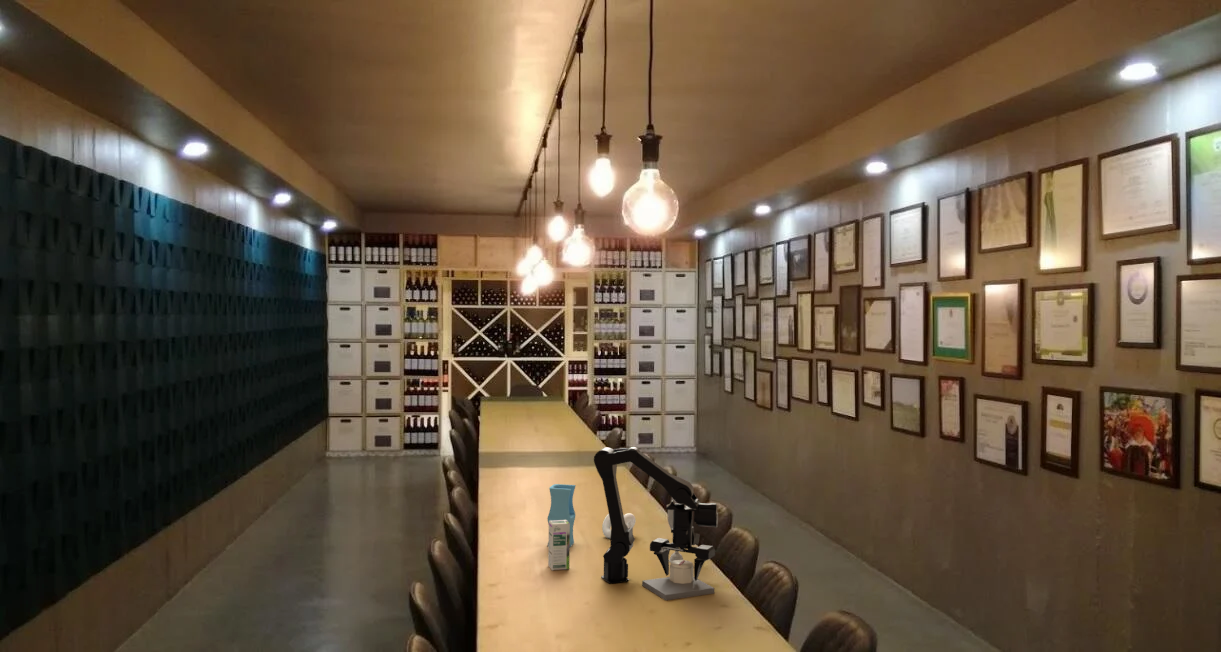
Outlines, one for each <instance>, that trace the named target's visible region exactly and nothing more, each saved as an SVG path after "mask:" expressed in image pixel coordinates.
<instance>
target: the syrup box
mask: <svg viewBox="0 0 1221 652" xmlns="http://www.w3.org/2000/svg"><path fill="white" fill-rule="evenodd" d="M548 541H549V542H547V545H548V546H547V547H548V553H547V555H548V557H547V559H548V561H547V563H548V567H549V568H550V570H551V571H559V570H560V571H562V570H570V552H571V551H570V548H571V547H570V523H569V522H568V521H567V520H554V521H549V525H548Z"/></svg>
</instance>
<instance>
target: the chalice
mask: <svg viewBox="0 0 1221 652" xmlns="http://www.w3.org/2000/svg"><path fill="white" fill-rule="evenodd" d="M669 504H670V503H669ZM669 504H666V507H667V506H668V505H669ZM687 507H688V506H687ZM667 522H668V523H667V524H668V526H669V528H670V530H671V529H673V510H667ZM674 560H684V557H683V555H682V554H681V553H680V551H674V552H673V553H671V555H670V556H669V563H671V562H672V561H674Z"/></svg>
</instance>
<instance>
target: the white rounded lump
mask: <svg viewBox="0 0 1221 652" xmlns="http://www.w3.org/2000/svg"><path fill="white" fill-rule="evenodd" d="M623 515H624V520H625V524H626V525H627V527H628V528H630V527H632V528H633V529H634V527H635V525H636V519H637V518H636V517H635V515H634V514H633V513H631V512H629V513H625V514H623ZM601 530H602V533H603V536H604V537H605V538H607V539H610V540H611V522H610V517H609V513H608V514H607V515H606V516H605V518H604V519H603V522H602V527H601Z"/></svg>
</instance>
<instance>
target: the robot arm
mask: <svg viewBox="0 0 1221 652" xmlns="http://www.w3.org/2000/svg"><path fill="white" fill-rule="evenodd" d="M593 462H594V463H593V464H594V465H595V469H596V471H597V474H598V475H599V477H600V479H601V481H602V485H603V490H604V495H605V500H606V507H607V511H608V514H609V517H610V522H611V527H610V529H611V539H610V547H608V548H607V550H606V551H605V553H604V554H603V555H602V557H603V575H601V577H600V578H601V579H602V580H604V581H606V582H607V583H608V584H616V583H617V584H618V583H625V582H626V583H627V582H629V581H630V579H629V578H628V577H629V564H628V559H627V558H625V557H626V556H628V555H629V553H630V551H631V550H632V548H633V547H634V542H635V541H636V538H635V536H634V527H633V528H632V527H630V528H628V527H627V525H626V524H625V520H624V515H625V514H624V510H623V505H622V501H621V495H620V491H619V490H620V489H619V485H618V481H617V467H618V465H620V464H624V463H625V464H626V463H631V464H633V465H635V467H637V468H639V469H640V470H641V471H642V472H643V473H645V474H646V475H648V476H649V477H651V479H653V480H654V481H656V482H657V483H658V484H660V485H661V486H662V487H663V488H664V490H665V491H666V493H667V494H668V495H669V496H670V497H671V498H672V499H673V500H671V502H670V503H669V505H668V504H667V505H668V506H666V508H665V509H666V510H667V511H668V510H673V529H671V528H670V533H671V534H672V541H671V542H670V540H669V539H667V538H661V537H657V538H655V539H654V540H652V541H650V544H649V552H653V554H654V555H655V556H656V557H657V560H659V563H660V565H661V566H662V569H663V571H664V574H665V576H667V577H668V576H670V562H669V560H670V556H669V555H670V551H674V552H675V551H678V552H679V553H680V552H682V553H686V554H688V553H689V554H695V555H694V556H695V558H694V561H693V566H694V569H693V577H694V578H695V581H696V580H697V579H699V576H700V573H701V571H702V568H703V567H704V564H705V562H707V561H709V560H711V559H712V558H714V557H715V556H716V549H715V547H714V546H713V545H708V544H707V545H706V544H701V545H699V543H700V542H699V541H700V535H701V534H700V533H697V532H695V529H694V526H693V522H694V523H695V525H697V527H708V528H718V521H719V512H718V503H716V502H715V503H714V502H712V503H711V502H710V503H706V502H705V503H704V502H703V503H702V502H701V501H700V500H699V498H698V497H697V495H696V494H695V492H694V486H693V485H692V483H691V482H689V481H687V480H685V479H684V478H682V477H680V476H677V475H674V474H672V473H670V472H669V471H667V470H666V469H665V468H663V467H662V466H661V465H659V464H658V463H657V462H655V461H654V460H653V459H652V458H650V457H649V456H648V455H646V454H645V453H644V452H642V451H641V450H640V449H639V448H638V447H636V446H632V447H631V446H630V447H627V448H614V449H613V448H611V447H607V446H606V447H603V448H602V449H599V450H598V451H597V452H596V453H595V454H594V456H593ZM687 506H688V507H687ZM695 545H697V546H698V547H697V546H695Z"/></svg>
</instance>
